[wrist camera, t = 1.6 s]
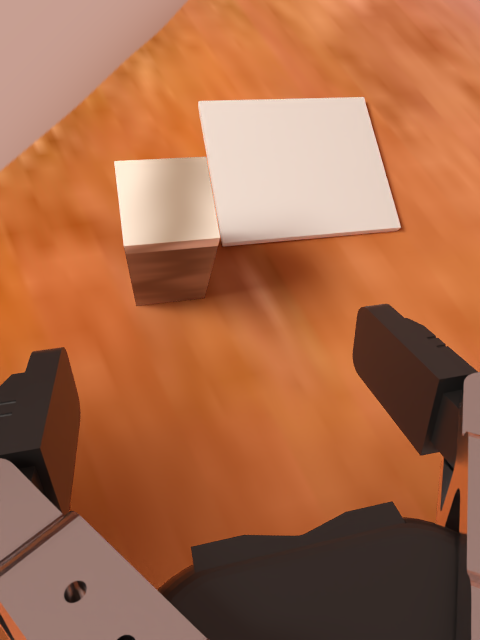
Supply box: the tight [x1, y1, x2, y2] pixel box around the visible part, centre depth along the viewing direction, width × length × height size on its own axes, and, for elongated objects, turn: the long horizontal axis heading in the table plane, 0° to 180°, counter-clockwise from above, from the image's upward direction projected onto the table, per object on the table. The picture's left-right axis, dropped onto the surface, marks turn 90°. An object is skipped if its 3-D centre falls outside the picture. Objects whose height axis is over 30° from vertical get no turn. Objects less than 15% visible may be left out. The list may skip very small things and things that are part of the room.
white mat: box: [198, 97, 401, 246], centre depth 37 cm, size 15×13×1 cm
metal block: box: [114, 157, 220, 306], centre depth 29 cm, size 5×5×10 cm
